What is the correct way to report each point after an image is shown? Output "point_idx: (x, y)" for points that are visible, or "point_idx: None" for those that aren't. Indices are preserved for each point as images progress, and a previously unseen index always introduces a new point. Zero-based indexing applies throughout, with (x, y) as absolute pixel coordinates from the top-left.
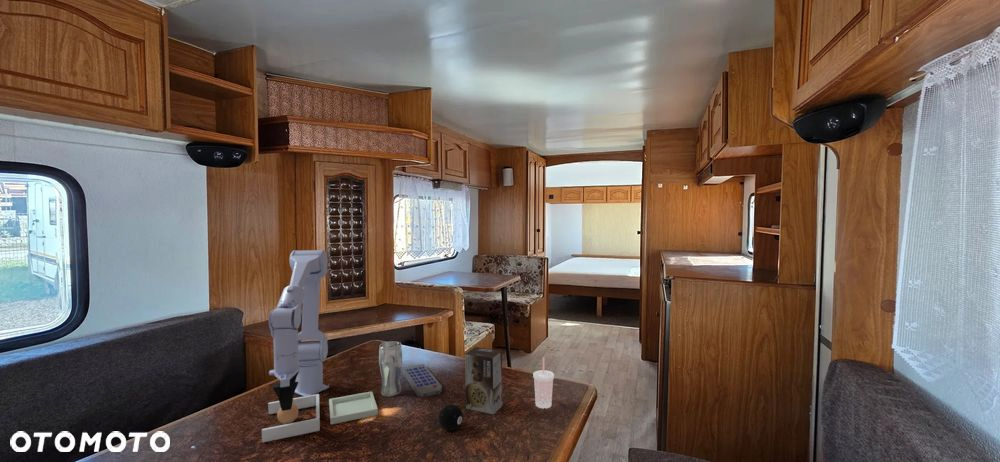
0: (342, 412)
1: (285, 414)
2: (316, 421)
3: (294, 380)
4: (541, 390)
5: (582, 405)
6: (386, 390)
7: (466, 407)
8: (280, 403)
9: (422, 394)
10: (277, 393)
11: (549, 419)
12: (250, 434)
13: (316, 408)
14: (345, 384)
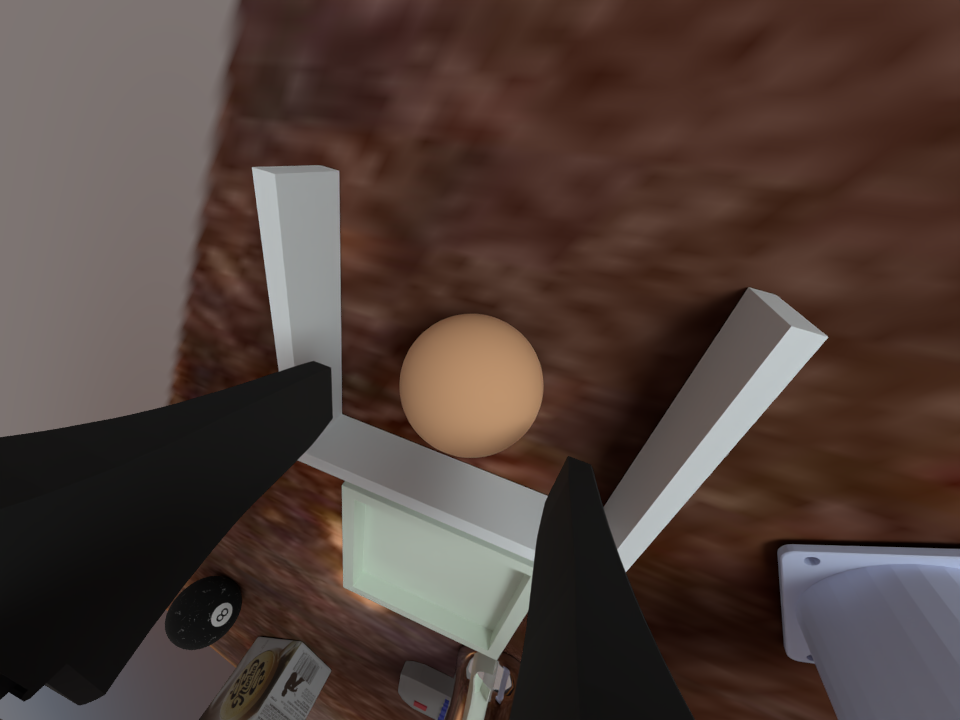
0: (419, 530)
1: (403, 365)
2: None
3: (513, 710)
4: None
5: None
6: (466, 672)
7: (297, 644)
8: (238, 388)
9: (403, 669)
10: (10, 448)
11: (223, 643)
12: (477, 94)
13: (411, 499)
14: (743, 684)
